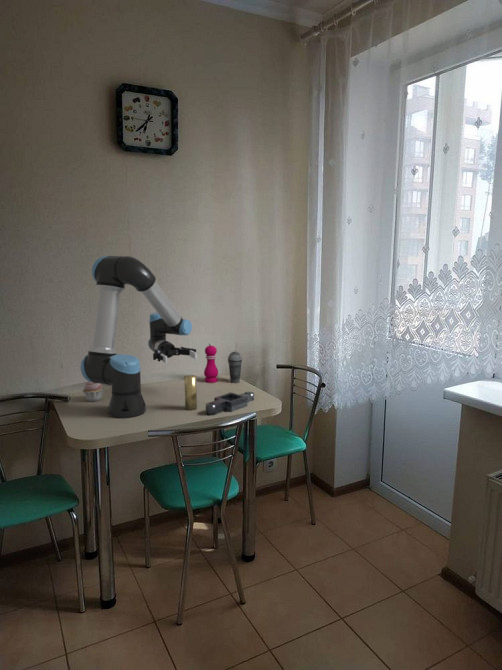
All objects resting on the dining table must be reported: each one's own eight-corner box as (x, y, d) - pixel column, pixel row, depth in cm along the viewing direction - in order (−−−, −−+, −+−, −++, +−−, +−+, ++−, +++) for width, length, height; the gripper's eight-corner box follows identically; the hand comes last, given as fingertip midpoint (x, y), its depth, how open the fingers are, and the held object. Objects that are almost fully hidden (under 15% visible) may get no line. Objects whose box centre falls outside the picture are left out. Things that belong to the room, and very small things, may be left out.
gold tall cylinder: (190, 411, 203) (189, 378, 200) (182, 408, 206) (181, 376, 203) (199, 408, 207) (198, 376, 204) (191, 405, 210) (190, 374, 207)
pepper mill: (217, 383, 244) (217, 344, 240) (203, 383, 244) (202, 344, 240) (219, 379, 251) (218, 341, 247) (205, 379, 251) (204, 341, 247)
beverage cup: (233, 379, 251) (232, 341, 247) (245, 381, 247) (244, 342, 244) (225, 382, 245) (224, 343, 241) (237, 384, 241) (237, 345, 237)
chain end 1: (216, 417, 195) (215, 408, 194) (198, 412, 202) (198, 403, 201) (247, 405, 210) (247, 396, 209) (230, 401, 216) (230, 392, 215)
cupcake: (108, 397, 222) (107, 375, 220) (99, 403, 213) (97, 381, 211) (89, 396, 223) (87, 375, 222) (79, 402, 214) (77, 380, 213)
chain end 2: (231, 411, 202) (231, 404, 202) (214, 406, 208) (214, 399, 208) (261, 400, 216) (261, 394, 216) (244, 396, 223) (244, 389, 222)
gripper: (190, 353, 236) (208, 362, 218) (139, 359, 224) (154, 370, 206) (189, 338, 234) (207, 346, 216) (138, 343, 222) (153, 352, 204)
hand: (181, 358), depth 211 cm, fingers open, 13 cm apart
